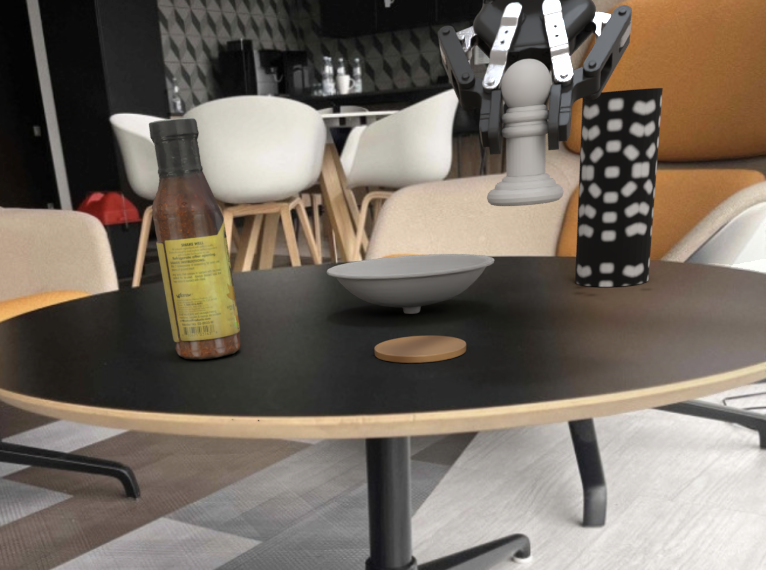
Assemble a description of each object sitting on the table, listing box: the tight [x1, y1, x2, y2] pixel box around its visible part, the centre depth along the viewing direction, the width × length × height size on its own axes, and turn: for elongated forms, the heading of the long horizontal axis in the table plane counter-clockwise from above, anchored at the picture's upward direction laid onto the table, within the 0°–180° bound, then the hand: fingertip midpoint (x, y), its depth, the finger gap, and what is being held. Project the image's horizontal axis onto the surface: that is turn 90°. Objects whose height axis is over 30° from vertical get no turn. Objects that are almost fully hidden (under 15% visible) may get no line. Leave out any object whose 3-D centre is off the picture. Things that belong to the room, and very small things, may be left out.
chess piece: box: [486, 59, 565, 207], centre depth 60 cm, size 5×5×9 cm
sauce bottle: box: [148, 117, 241, 361], centre depth 77 cm, size 6×6×20 cm
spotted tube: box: [574, 87, 664, 288], centre depth 99 cm, size 8×8×20 cm
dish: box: [326, 253, 495, 315], centre depth 92 cm, size 18×14×5 cm
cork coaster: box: [374, 335, 467, 364], centre depth 76 cm, size 8×8×1 cm
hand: (523, 142), depth 59 cm, fingers closed on chess piece, 3 cm apart
